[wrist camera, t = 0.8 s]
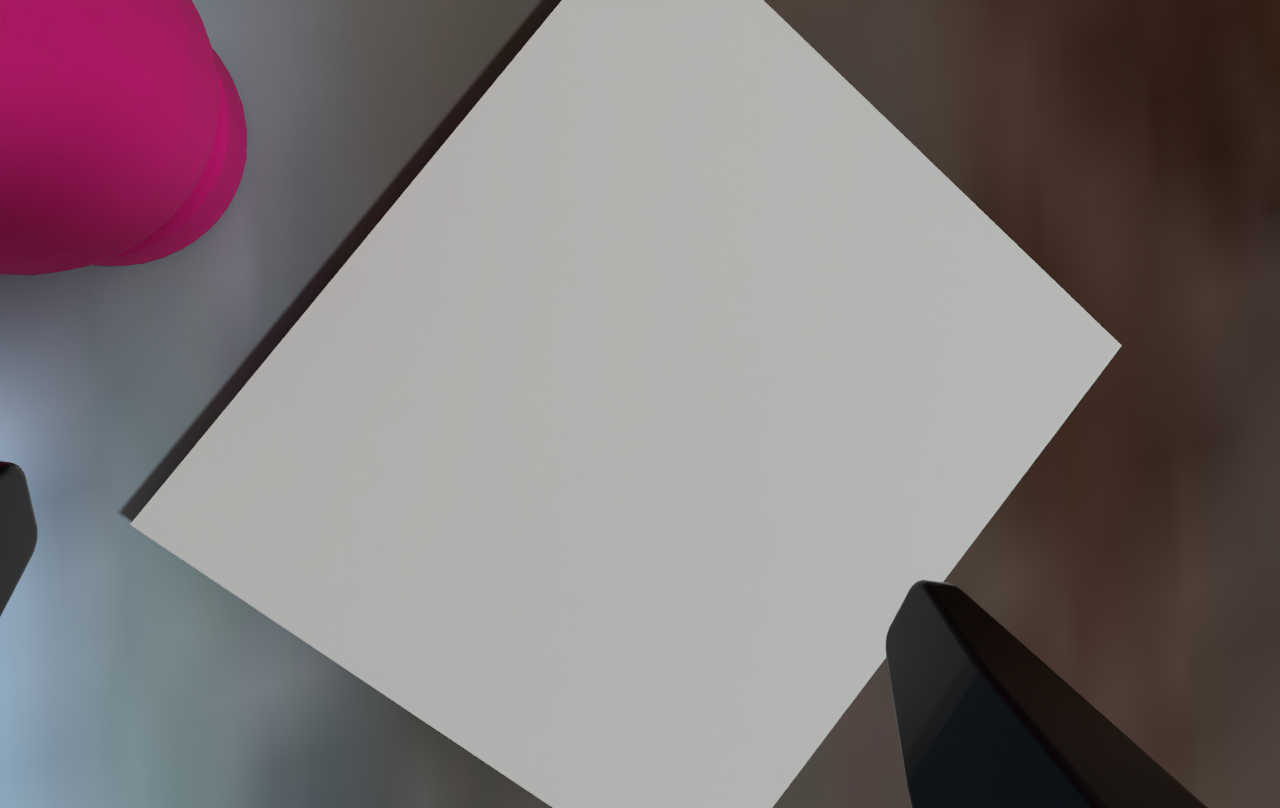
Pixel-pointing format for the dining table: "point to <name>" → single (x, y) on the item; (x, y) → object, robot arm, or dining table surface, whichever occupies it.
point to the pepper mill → (111, 133)
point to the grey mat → (639, 413)
